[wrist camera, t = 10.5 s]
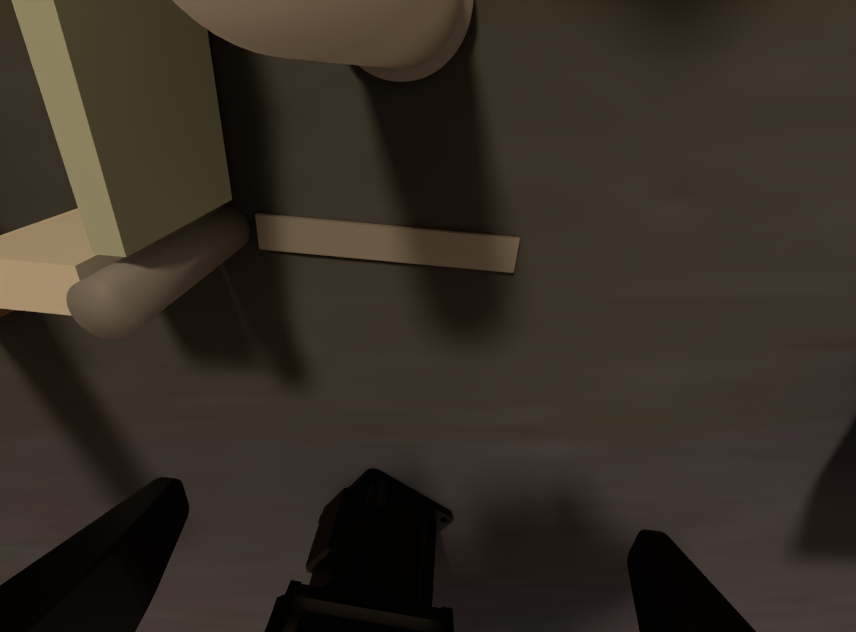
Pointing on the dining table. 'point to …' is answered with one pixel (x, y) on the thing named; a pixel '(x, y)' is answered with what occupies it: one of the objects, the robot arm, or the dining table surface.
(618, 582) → the dining table surface
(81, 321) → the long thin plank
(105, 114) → the beige flat block
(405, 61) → the beige dome-topped cylinder
